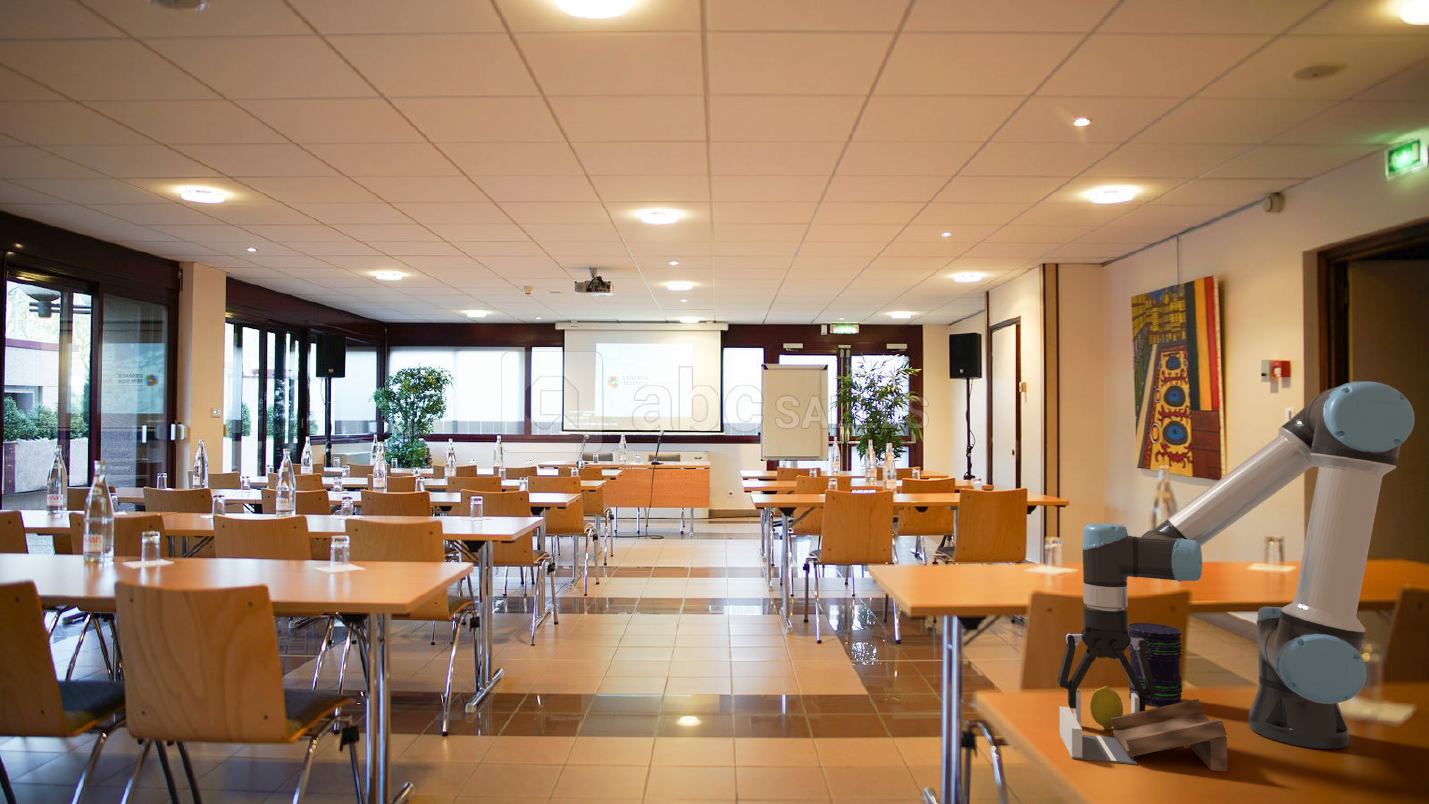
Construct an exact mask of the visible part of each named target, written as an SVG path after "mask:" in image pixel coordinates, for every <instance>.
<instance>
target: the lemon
mask: <svg viewBox="0 0 1429 804" xmlns="http://www.w3.org/2000/svg"><path fill="white" fill-rule="evenodd" d="M1089 704H1090V706H1089V707H1090V714H1091V716H1092V719H1093V720H1094V721H1095V722H1096V723H1097V724H1098V725H1100V726H1101V727H1102V728H1103V729H1104V730H1107V731H1109V730H1110V729H1111V728H1113V725H1112V722H1111V719H1110V718H1113V717H1118V716H1122V715H1124V704H1123V702H1122V699H1121V697H1120V695H1119V694H1118V693H1117V691H1115V690H1114V689H1111V688H1110V687H1109V686H1108V685H1104V686H1103V687H1099V688H1097V689H1096V690H1095V691H1094V692H1093V693H1092V695H1091V698H1090V703H1089Z"/></svg>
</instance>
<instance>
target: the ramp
mask: <svg viewBox="0 0 1429 804" xmlns="http://www.w3.org/2000/svg"><path fill="white" fill-rule="evenodd" d="M1110 719H1111V722H1112V725H1113V727H1112V728H1113V730H1112V733H1113V737H1115V738H1116V739H1117V741H1118V742H1119V743H1120V745H1121V746H1122V748H1123V749H1124V751H1125V752H1126V754H1127V755H1128V756H1129V757H1135V756H1141V755H1146V754H1149V753H1154V752H1161V751H1165V750H1170V749H1174V748H1178V747H1179V748H1180V747H1185V746H1188V745H1190V749H1191V750H1192V751H1193V752H1194V753H1195V754H1196V756H1197V757H1199V758H1200V760H1201V761H1202V762H1203V763H1204V764H1205V765H1206V766H1207V768H1208V769H1209V770H1211V771H1219V772H1228V738H1227V737H1226V736H1228V734H1227V731H1226V728H1225V725H1224V723H1223V720H1222V719H1221V718H1217V719H1212V720H1210V719H1209V718H1208V717H1207V716H1206V715H1205V713H1204V710H1203V707H1202V705H1201V702H1200V699H1198V698H1196V699H1191V700H1187V701H1182V702H1181V703H1177V704H1172V705H1168V706H1163V707H1153V708H1150V709H1145V711H1140V712H1136V713H1131V712H1130V713H1128V714H1123V715H1122V716H1118V717H1113V718H1110Z"/></svg>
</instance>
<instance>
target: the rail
mask: <svg viewBox="0 0 1429 804" xmlns="http://www.w3.org/2000/svg"><path fill="white" fill-rule="evenodd" d="M1082 735H1083V728H1082V726H1081V727H1080V725H1079V723H1078V722H1077V720H1076V718H1075V717H1074V712H1073V711H1072V710H1071V708H1070V707H1069V706H1061V705H1059V736H1060V737H1061V736H1062V737H1061V740H1062V741H1063V743H1064V745H1065V748H1066V749H1067V751H1068V753H1069V756H1070V757H1071V759H1072V758H1074V757H1075V758H1076V757H1078V758H1079V759H1077V758H1076V759H1075V760H1082V759H1081V758H1082ZM1082 761H1083V760H1082Z"/></svg>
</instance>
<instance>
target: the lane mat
mask: <svg viewBox="0 0 1429 804" xmlns="http://www.w3.org/2000/svg"><path fill="white" fill-rule="evenodd" d="M1096 736H1097V735H1092V734H1091V735H1090V734H1082V758H1081V759H1082V761H1083V760H1084V761H1091V762H1092V761H1093V762H1094V761H1095V762H1104V763H1112V762H1113V763H1115V762H1116V763H1115V764H1124V765H1135V766H1138V763H1137V761H1136V759H1135V758H1134V756H1132V757H1129V756H1128V755H1127V754H1126V752H1125V751H1124V749H1123V748H1122V746H1121V745H1120V743H1119V742H1118V741H1117V739H1116V738H1115V736H1113V737H1112V736H1102V735H1100V736H1101V737H1102V739H1103V741H1104V742H1105V744H1106V745H1107V747H1108V748H1109V750H1110V751H1111V753H1112V754H1113V756H1114V757H1115V759H1116V761H1111V759H1110V757H1109V756H1108V754H1107V753H1106V751H1105V750H1104V748H1103V746H1102V745H1101V743H1100V742H1099V740H1098V739H1097V737H1096ZM1060 737H1062V736H1060ZM1076 758H1077V759H1076ZM1076 758H1075V757H1074V758H1072V757H1071V759H1073V760H1081V759H1079V758H1078V757H1076Z"/></svg>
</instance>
